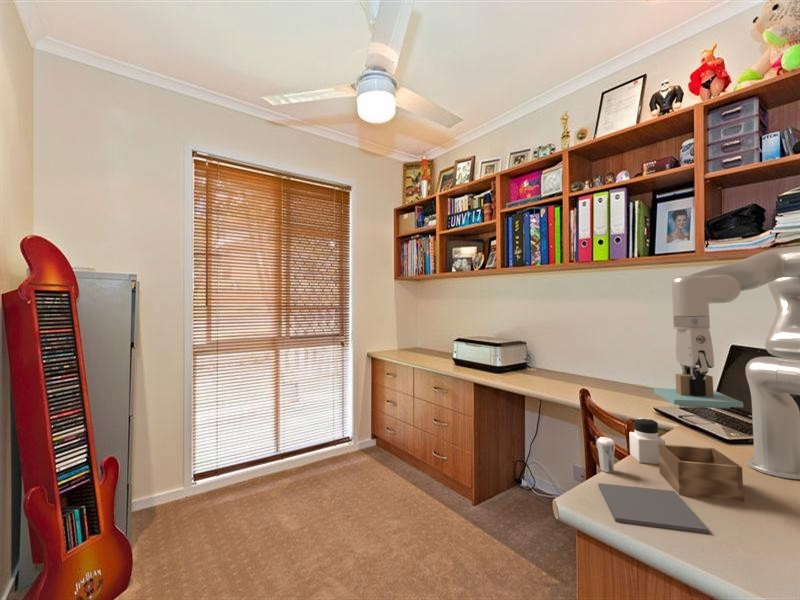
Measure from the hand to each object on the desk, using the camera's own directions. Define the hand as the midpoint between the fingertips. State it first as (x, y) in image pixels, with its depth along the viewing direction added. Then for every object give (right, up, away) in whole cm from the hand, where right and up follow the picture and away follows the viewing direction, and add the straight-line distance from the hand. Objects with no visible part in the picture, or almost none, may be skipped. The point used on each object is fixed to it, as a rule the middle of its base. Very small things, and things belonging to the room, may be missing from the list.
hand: (694, 393), depth 97 cm
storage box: (0, -24, -1) cm, 24 cm away
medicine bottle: (-1, -25, +17) cm, 30 cm away
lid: (0, -2, 0) cm, 2 cm away
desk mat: (-19, -24, -11) cm, 32 cm away
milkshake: (-18, -25, +9) cm, 32 cm away
